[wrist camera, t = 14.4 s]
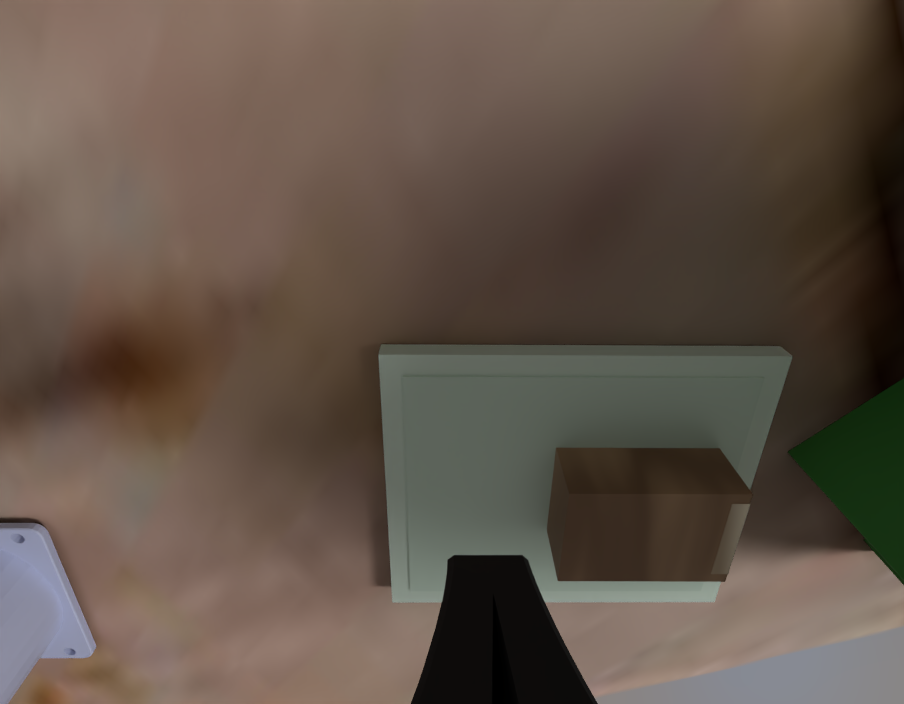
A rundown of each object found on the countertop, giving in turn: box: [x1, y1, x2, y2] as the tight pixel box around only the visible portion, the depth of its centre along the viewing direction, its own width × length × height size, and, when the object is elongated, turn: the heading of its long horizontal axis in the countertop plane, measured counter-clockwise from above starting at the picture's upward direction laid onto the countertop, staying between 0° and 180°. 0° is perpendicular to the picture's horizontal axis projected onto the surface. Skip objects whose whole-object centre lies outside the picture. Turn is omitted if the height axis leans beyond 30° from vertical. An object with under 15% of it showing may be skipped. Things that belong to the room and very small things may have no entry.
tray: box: [378, 344, 793, 602], centre depth 22 cm, size 14×12×1 cm
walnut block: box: [547, 448, 753, 582], centre depth 20 cm, size 2×4×6 cm
